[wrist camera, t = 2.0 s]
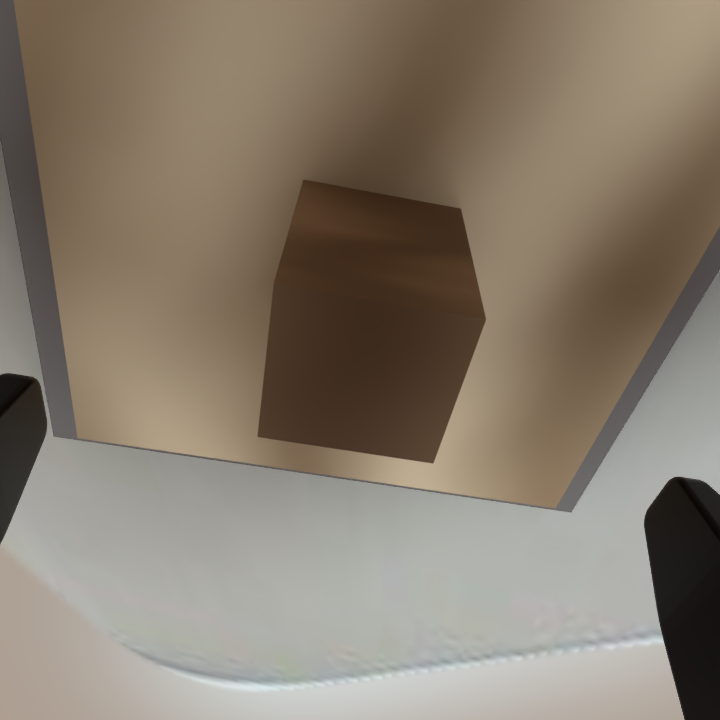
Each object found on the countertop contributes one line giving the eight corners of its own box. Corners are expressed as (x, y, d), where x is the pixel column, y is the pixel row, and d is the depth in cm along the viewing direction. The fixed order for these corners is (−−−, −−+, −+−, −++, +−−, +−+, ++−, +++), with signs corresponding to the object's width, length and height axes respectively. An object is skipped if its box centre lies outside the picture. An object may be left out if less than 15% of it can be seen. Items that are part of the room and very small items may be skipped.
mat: (921, -117, 10) (955, -118, 10) (565, 492, 20) (571, 512, 20) (-58, -354, 9) (-92, -372, 9) (64, 418, 19) (53, 436, 18)
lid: (837, -45, 10) (1110, -2, 7) (548, 482, 19) (591, 642, 15) (12, -235, 9) (-261, -320, 5) (91, 413, 18) (5, 566, 14)
